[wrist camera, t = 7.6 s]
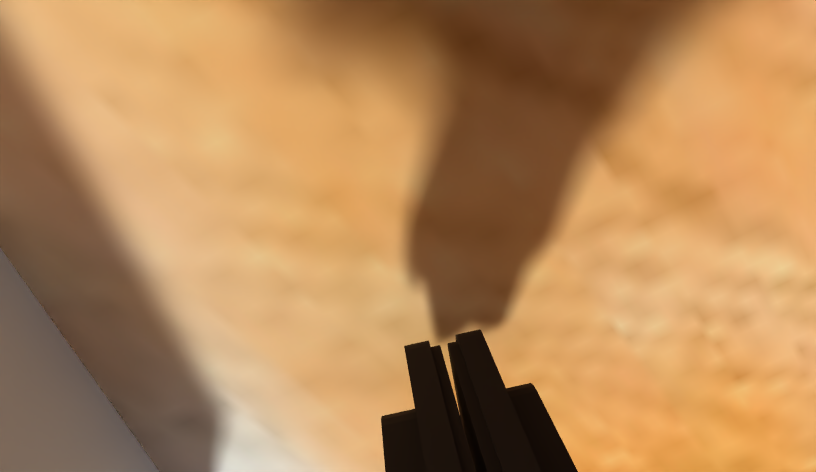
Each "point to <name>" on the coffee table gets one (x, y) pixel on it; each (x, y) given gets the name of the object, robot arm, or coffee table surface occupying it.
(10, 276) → the tee block
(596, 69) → the coffee table surface
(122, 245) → the coffee table surface
